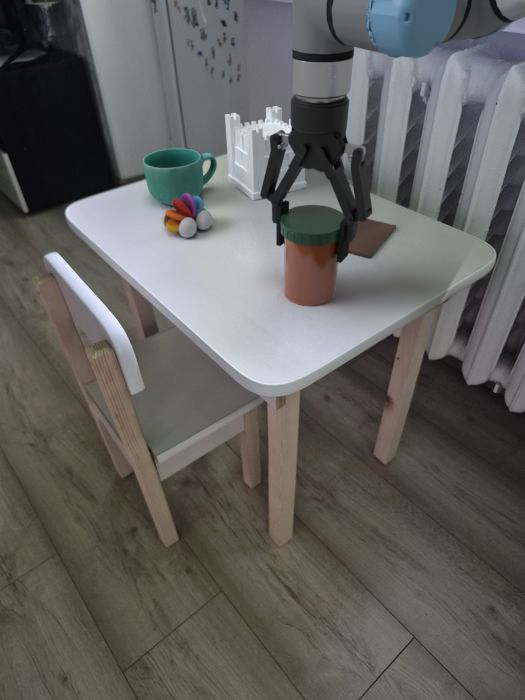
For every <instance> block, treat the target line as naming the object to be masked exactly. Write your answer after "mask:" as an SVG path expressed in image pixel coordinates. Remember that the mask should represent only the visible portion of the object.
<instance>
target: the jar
mask: <svg viewBox="0 0 525 700" xmlns="http://www.w3.org/2000/svg"><path fill="white" fill-rule="evenodd" d="M337 250H338V241H337V242H335V243H332V244H328V245H322V246H306V245H300V244H296V243H293V242H291V241H289V240H287V239H286V238H285V237H284V244H283V275H282V276H283V280H282V281H283V284H282V285H283V286H282V288H283V289H282V291H283V295H284V296H285V298H286V299H287V300H288V301H290V302H291V303H293V304H296V305H298V306H303V307H315V306H316V307H317V306H322V305H325V304H327V303H329V302H330V301H332V300H333V299H334V297H335V296H336V292H337V290H336V289H337V282H338V271H339V262H336V261H337Z"/></svg>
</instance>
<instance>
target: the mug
mask: <svg viewBox="0 0 525 700" xmlns="http://www.w3.org/2000/svg"><path fill="white" fill-rule="evenodd" d="M208 159H209V161H210V164H209V167H208V170H207V171H206V173H205V174H204V168H203V166H204V164H205V161H207V160H208ZM142 166H143V172H144V176H145V181H146V186H147V189H148V191H149V194H150V196H151V197H152V199H154V200H155V201H157V202H159V203H162V204H164V205H167V206H171V207H174V206H173V204H172V200H173V199H175V198H177V199H179V200H180V198H181V196H182V195H183V194H185V193H189V194H191V195H192V196H199V197H200V195H201V194H202V192H203V190H204V186H205V185H206V184H207V183H208V182H210V181H211V179H212V178H213V177H214V174H215V173H216V170H217V166H218V163H217V159H216V157H215V156H214V154H212V153H210V152H204V153H202V154H201V153H199V152H198V151H197V150H195V149H190V148H182V147H173V148H164V149H159V150H156V151H153V152H150V153H148V154H147V155H145V156H144V157H143V159H142Z"/></svg>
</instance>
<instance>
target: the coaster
mask: <svg viewBox="0 0 525 700" xmlns="http://www.w3.org/2000/svg"><path fill="white" fill-rule="evenodd" d="M396 228H397V225H395V224H392V223H389V222H388V223H387V222H383V221H379V220H375V219H370V218H367V219H366V220H365V221H364V222H361V221H358V225H357V232H356V237H355V239H354V240H353V241H352V242H351V243H350V242H349V251H348V254H352V255H355V256H359V257H363V258H366V259H371V258H372V257H373V256H374V255H375V253H376V252H377V251H378V250H379V249H380V248H381V247H382V245H383V244H385V242H386V240H388V238H389V237H390V236H391V234H392V233H393V232H394V231H395V229H396Z"/></svg>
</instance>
